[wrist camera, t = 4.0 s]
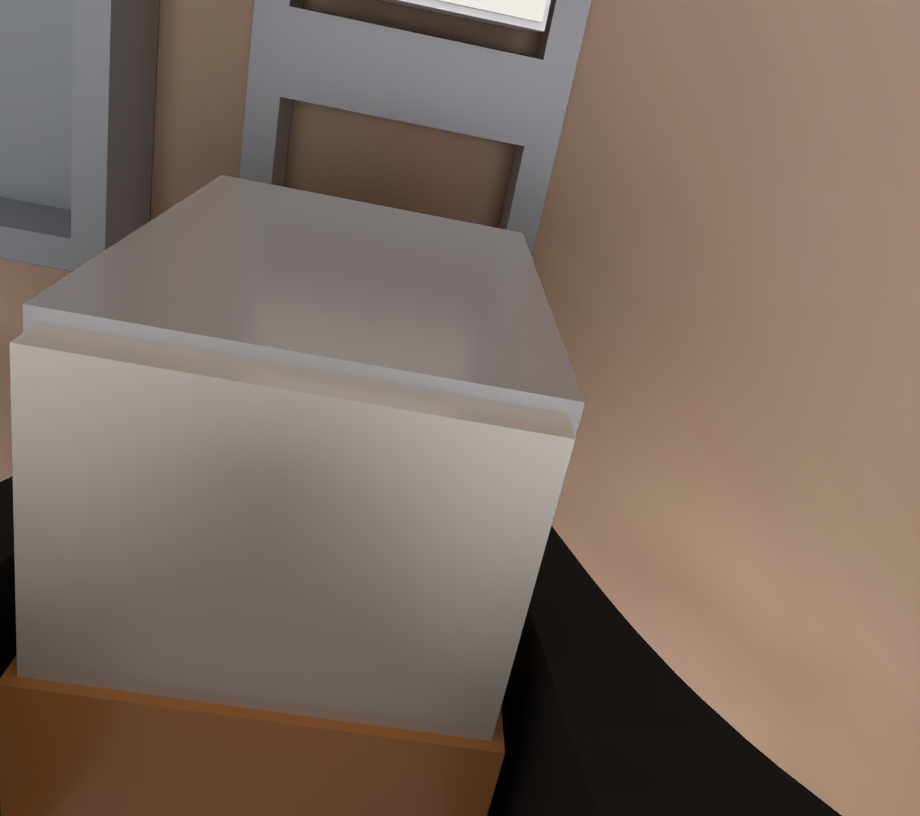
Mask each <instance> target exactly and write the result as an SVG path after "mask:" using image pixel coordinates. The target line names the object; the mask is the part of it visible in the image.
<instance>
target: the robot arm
mask: <svg viewBox="0 0 920 816" xmlns="http://www.w3.org/2000/svg"><path fill="white" fill-rule="evenodd" d="M16 655H17V650H16V606H15V562H14V518H13V476H12V477H10V478H8V479H6V480H4V481H2V482H0V678H1V676H2V675H3V674H4V672H5V671H6V669H7V668H8V666H9V665H10V663H11V662H12V660H13V659H14V658H15V656H16ZM501 709H502V722H503V734H504V747H505V755H504V758H503V762H502V765H501V769H500V772H499V776H498V779H497V783H496V786H495V790H494V793H493V796H492V800H491V803H490V807H489V810H488V814H487V816H841V815H840V814H839V813H837V812H836V811H835V810H834V809H832V808H831V807H830V806H828V805H827V804H826V803H825V802H823V801H822V800H821V799H819V798H818V797H817V796H816V795H814V794H813V793H812V792H810V791H809V790H808V789H807V788H805V787H804V786H803V785H801V784H800V783H799V782H798V781H796V780H795V779H794V778H792V777H791V776H790V775H789V774H787V773H786V772H785V771H783V770H782V769H781V768H780V767H778V766H777V765H776V764H775V763H774V762H772V761H771V760H770V759H769V758H768V757H766V756H765V755H764V754H763V753H762V752H760V751H759V750H758V749H757V748H756V747H755V746H753V745H752V744H751V743H750V742H749V741H747V740H746V739H745V738H744V737H743V736H742V735H741V734H740V733H739V732H737V731H736V730H735V729H734V728H733V727H732V726H731V725H730V724H729V723H728V722H727V721H725V720H724V719H723V718H722V717H721V716H720V715H719V714H718V713H717V712H716V711H714V710H713V709H712V708H711V707H710V706H709V705H708V704H707V703H706V702H705V701H703V700H702V699H701V698H700V697H699V696H698V695H697V694H696V693H695V692H694V691H693V690H692V689H691V688H690V687H689V686H688V685H687V684H686V683H685V682H684V681H683V680H682V679H681V678H680V677H679V676H678V675H677V674H676V673H675V672H674V671H673V670H672V669H671V668H670V667H669V666H668V665H667V664H666V663H665V662H664V661H663V659H662V658H661V657H660V656H659V655H658V654H657V653H656V652H655V651H654V650H653V649H652V648H651V647H650V646H649V644H648V643H647V642H646V641H645V640H644V639H643V638H642V637H641V636H640V635H639V634H638V633H637V632H636V630H635V629H634V628H633V627H632V626H631V625H630V623H629V622H628V621H627V620H626V619H625V618H624V617H623V615H622V614H621V613H620V612H619V611H618V610H617V608H616V607H615V606H614V605H613V604H612V602H611V601H610V600H609V599H608V598H607V596H606V595H605V594H604V593H603V592H602V590H601V589H600V588H599V587H598V585H597V584H596V583H595V582H594V580H593V579H592V578H591V577H590V575H589V574H588V573H587V572H586V570H585V569H584V568H583V566H582V565H581V564H580V563H579V561H578V560H577V559H576V557H575V556H574V555H573V553H572V552H571V551H570V549H569V548H568V547H567V546H566V544H565V543H564V542H563V540H562V539H561V538H560V536H559V535H558V534H557V532H556V531H555V530H554V528H553V527H552V526H551V529H550V532H549V536H548V539H547V543H546V547H545V550H544V554H543V557H542V561H541V565H540V568H539V572H538V575H537V579H536V583H535V586H534V590H533V593H532V597H531V601H530V604H529V608H528V611H527V615H526V618H525V622H524V626H523V629H522V633H521V636H520V640H519V644H518V647H517V651H516V654H515V658H514V662H513V665H512V669H511V672H510V676H509V680H508V683H507V687H506V690H505V694H504V697H503V701H502V705H501ZM0 816H1V808H0Z"/></svg>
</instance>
